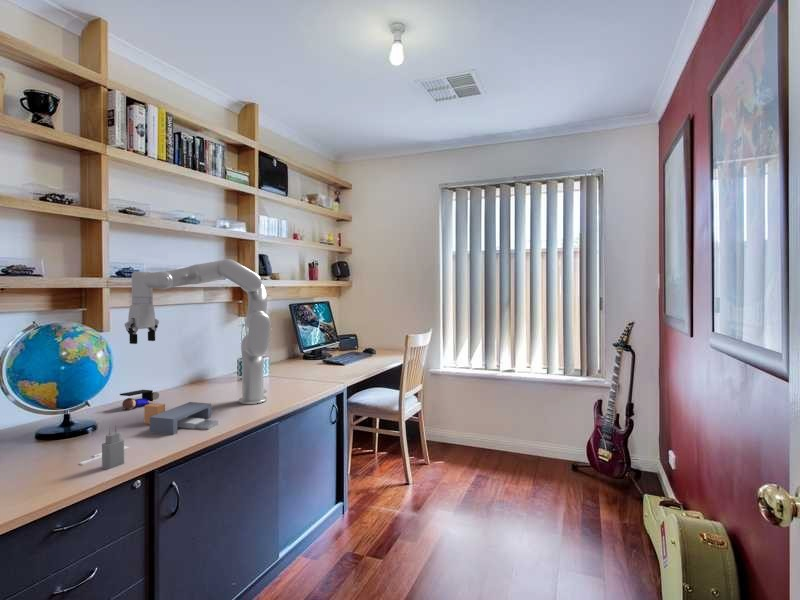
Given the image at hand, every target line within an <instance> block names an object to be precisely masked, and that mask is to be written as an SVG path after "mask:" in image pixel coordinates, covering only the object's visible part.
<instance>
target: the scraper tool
mask: <svg viewBox="0 0 800 600" xmlns="http://www.w3.org/2000/svg"><path fill="white" fill-rule="evenodd" d="M150 403H151V404H148V405H147V404H146V405H143V406H144V411H143V413H144V418H143V419H144V424H147V425H148V424H149V425H150V417H151V416H154V415H157V414H159V413H162V412H165V411H166V404H165V403H156V402H150ZM203 420H205V418H194V417H185V418H183V419H180V420H178V421H177V428H183V429H195V424H196V423H199V422H201V421H203Z"/></svg>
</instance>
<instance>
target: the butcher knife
mask: <svg viewBox="0 0 800 600" xmlns="http://www.w3.org/2000/svg"><path fill="white" fill-rule="evenodd" d="M129 449H130V447H129V446H127V445H124V451H125V450H129ZM90 457H92V458H90V459H87V460H83V461H80V462H79V465H80V466H84V465H87V464H90V463H93V462H95V461H98V460H102V452H100V453H97V454H94V455H91V456H90Z"/></svg>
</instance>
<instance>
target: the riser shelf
mask: <svg viewBox="0 0 800 600" xmlns="http://www.w3.org/2000/svg"><path fill="white" fill-rule="evenodd" d="M185 417H188V418H200V419H205V420H208V419H209V420H210V419H211V418H212V403H210V402H208V403H207V402H195V401H189V402H186V403H183V404H181V405H179V406H176V407H173V408H171V409H167V410H165V412H162V413H159V414H157V415H154V416H151V417H150V424H149V433H153V434H163V435H176V434H178V427H177V421H178V420H180V419H183V418H185Z"/></svg>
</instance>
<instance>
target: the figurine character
mask: <svg viewBox="0 0 800 600" xmlns="http://www.w3.org/2000/svg"><path fill="white" fill-rule="evenodd" d="M137 395H141V398H133V397H132V396H137ZM119 396H122V397H123V396H124V397H128V398H125V399H124V400H123V402H122V403H121V404H122V408H123V409H124V410H128V411H129V410H133V409H134V408H135V407H140V406H145V405H148V404H151V403H152V402H153V401H155V400H158V399H159V398H160V393H159V392H157V391H156V392H155V391H154V392H153V389H139V390H134V391H130V392H123V393H119Z"/></svg>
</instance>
